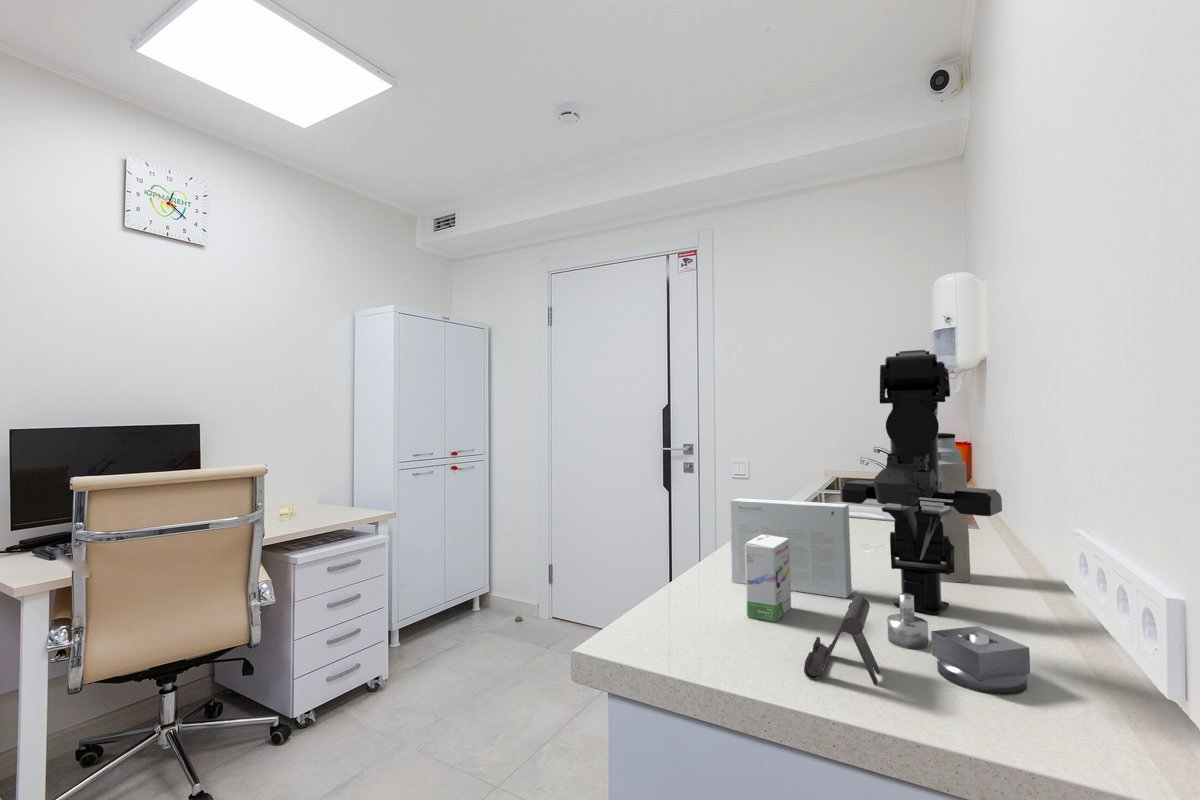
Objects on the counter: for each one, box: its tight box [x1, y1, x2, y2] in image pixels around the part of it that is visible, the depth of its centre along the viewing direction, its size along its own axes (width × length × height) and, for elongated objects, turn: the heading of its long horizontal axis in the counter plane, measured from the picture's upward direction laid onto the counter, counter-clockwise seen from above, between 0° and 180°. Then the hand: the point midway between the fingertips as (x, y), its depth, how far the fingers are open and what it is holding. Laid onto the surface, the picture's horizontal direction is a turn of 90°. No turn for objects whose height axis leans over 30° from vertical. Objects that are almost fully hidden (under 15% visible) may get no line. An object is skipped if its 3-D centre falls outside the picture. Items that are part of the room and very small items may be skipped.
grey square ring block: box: [930, 625, 1031, 680], centre depth 69 cm, size 7×7×3 cm
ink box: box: [745, 535, 792, 623], centre depth 92 cm, size 8×5×12 cm, turn 145°
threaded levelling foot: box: [886, 592, 929, 650], centre depth 79 cm, size 5×5×6 cm
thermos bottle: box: [936, 432, 972, 583], centre depth 111 cm, size 8×8×28 cm
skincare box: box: [729, 497, 853, 599], centre depth 106 cm, size 21×6×16 cm, turn 58°
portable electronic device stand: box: [803, 596, 881, 686], centre depth 71 cm, size 9×8×8 cm
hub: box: [936, 632, 1028, 696], centre depth 69 cm, size 9×9×5 cm
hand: (917, 559), depth 77 cm, fingers closed
